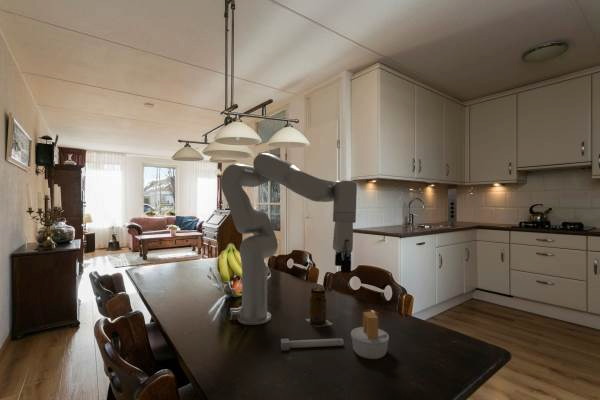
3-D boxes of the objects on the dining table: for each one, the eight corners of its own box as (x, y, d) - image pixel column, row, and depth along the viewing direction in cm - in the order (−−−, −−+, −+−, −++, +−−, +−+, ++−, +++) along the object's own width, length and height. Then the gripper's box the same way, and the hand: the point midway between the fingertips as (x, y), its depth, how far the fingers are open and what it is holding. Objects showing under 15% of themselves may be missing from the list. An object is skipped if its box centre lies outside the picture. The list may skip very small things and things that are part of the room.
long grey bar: (281, 350, 90) (281, 343, 90) (280, 346, 93) (280, 338, 93) (344, 347, 92) (344, 340, 92) (342, 343, 95) (342, 336, 95)
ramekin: (382, 365, 82) (382, 346, 82) (344, 354, 88) (344, 336, 88) (393, 349, 91) (393, 331, 92) (358, 340, 97) (358, 323, 98)
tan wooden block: (368, 338, 87) (368, 318, 87) (362, 331, 92) (363, 312, 92) (378, 337, 87) (378, 317, 88) (372, 330, 92) (372, 311, 92)
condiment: (321, 316, 117) (321, 285, 117) (333, 324, 110) (333, 291, 110) (304, 319, 114) (304, 288, 114) (315, 328, 107) (315, 294, 107)
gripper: (328, 215, 109) (327, 263, 109) (338, 219, 91) (336, 275, 91) (349, 216, 109) (347, 263, 109) (362, 219, 92) (360, 275, 92)
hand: (342, 269), depth 100 cm, fingers open, 9 cm apart
